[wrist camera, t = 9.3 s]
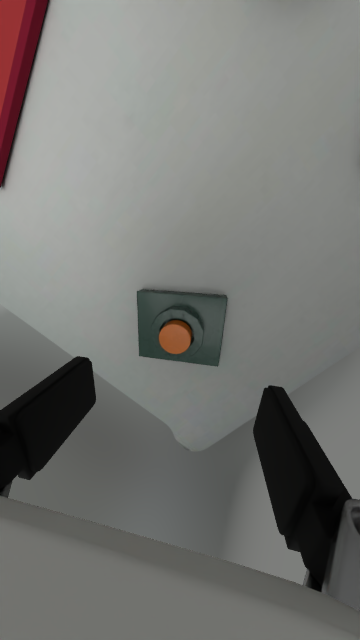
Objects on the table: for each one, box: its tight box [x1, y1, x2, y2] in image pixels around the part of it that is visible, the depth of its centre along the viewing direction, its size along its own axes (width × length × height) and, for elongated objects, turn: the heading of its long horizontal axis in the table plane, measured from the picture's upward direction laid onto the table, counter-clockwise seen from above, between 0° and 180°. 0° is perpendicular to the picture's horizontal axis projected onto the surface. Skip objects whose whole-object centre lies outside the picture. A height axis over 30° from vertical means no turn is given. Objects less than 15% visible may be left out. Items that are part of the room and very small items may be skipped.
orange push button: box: [159, 320, 192, 354], centre depth 22 cm, size 4×4×2 cm
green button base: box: [137, 289, 227, 366], centre depth 24 cm, size 12×10×4 cm
